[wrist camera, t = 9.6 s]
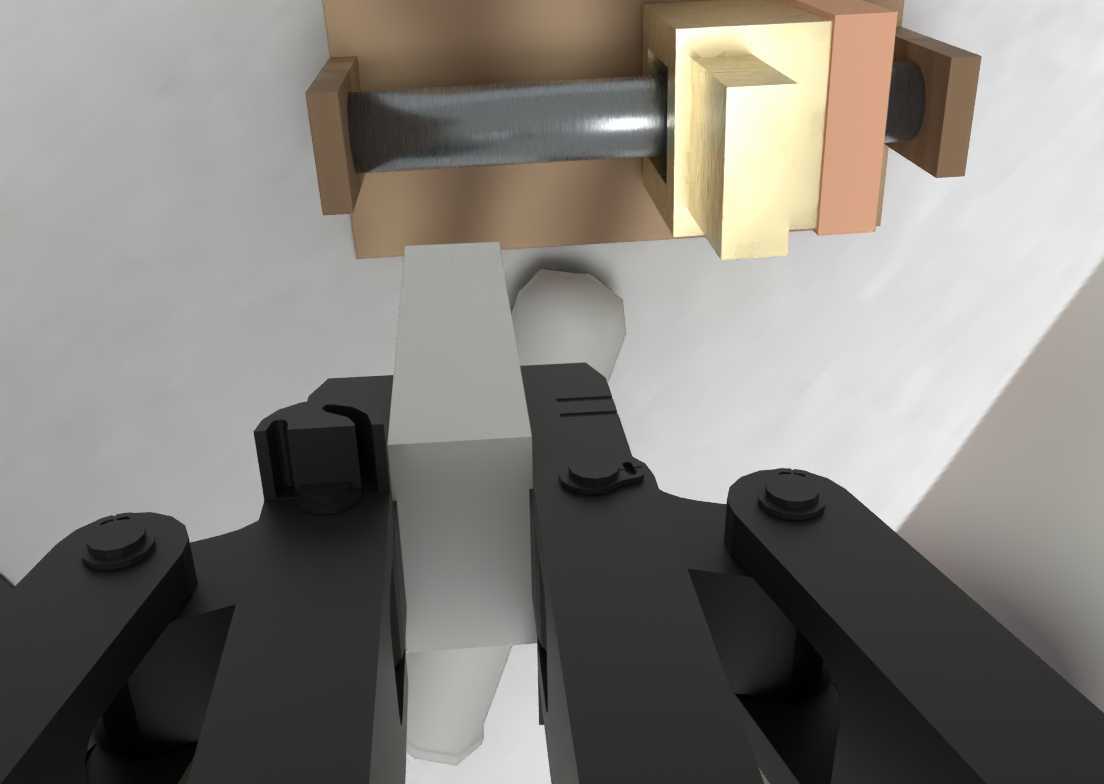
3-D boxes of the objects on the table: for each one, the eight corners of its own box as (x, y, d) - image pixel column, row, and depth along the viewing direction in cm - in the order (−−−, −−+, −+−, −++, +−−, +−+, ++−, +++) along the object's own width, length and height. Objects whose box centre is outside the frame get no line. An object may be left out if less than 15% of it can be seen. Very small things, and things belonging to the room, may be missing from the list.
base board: (358, 250, 44) (338, 325, 37) (318, -60, 38) (286, -44, 31) (871, 218, 45) (949, 284, 38) (903, -88, 40) (1000, -78, 32)
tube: (507, 266, 41) (364, 737, 51) (635, 315, 40) (464, 781, 50) (540, 238, 46) (403, 673, 56) (654, 281, 45) (495, 712, 55)
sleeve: (642, 183, 42) (703, 289, 31) (642, 4, 39) (710, 54, 28) (765, 176, 42) (867, 278, 32) (774, -3, 39) (890, 45, 29)
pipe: (348, 165, 39) (340, 187, 36) (338, 82, 37) (328, 99, 35) (902, 133, 40) (934, 152, 37) (911, 51, 38) (945, 65, 36)
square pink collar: (763, 179, 42) (818, 235, 36) (773, -9, 39) (835, 15, 33) (812, 177, 43) (874, 231, 36) (826, -12, 39) (897, 11, 33)
